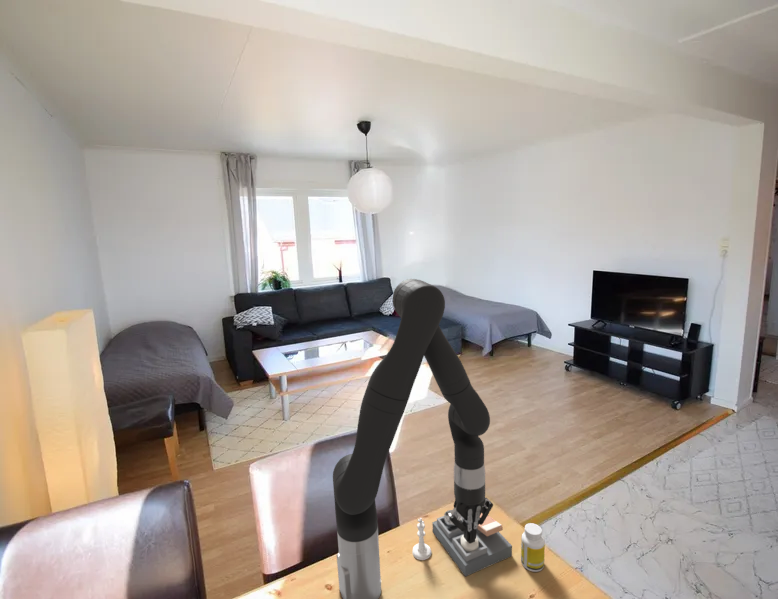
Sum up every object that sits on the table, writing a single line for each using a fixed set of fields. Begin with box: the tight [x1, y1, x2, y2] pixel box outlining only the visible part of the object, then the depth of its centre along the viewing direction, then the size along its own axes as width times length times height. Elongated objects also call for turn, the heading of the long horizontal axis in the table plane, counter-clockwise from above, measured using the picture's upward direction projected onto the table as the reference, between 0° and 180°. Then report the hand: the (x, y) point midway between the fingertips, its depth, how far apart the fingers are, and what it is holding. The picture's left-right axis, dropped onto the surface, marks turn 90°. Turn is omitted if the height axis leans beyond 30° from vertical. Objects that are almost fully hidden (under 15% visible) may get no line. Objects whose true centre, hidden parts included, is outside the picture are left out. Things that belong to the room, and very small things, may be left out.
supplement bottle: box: [520, 522, 546, 573], centre depth 99 cm, size 5×5×10 cm
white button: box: [461, 535, 479, 553], centre depth 101 cm, size 4×4×2 cm
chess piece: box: [412, 517, 432, 561], centre depth 104 cm, size 5×5×10 cm
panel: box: [431, 515, 513, 577], centre depth 107 cm, size 14×16×4 cm
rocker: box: [477, 513, 504, 536], centre depth 108 cm, size 5×10×1 cm, turn 23°
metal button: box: [443, 509, 461, 528], centre depth 108 cm, size 4×4×2 cm
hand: (470, 540), depth 101 cm, fingers closed
